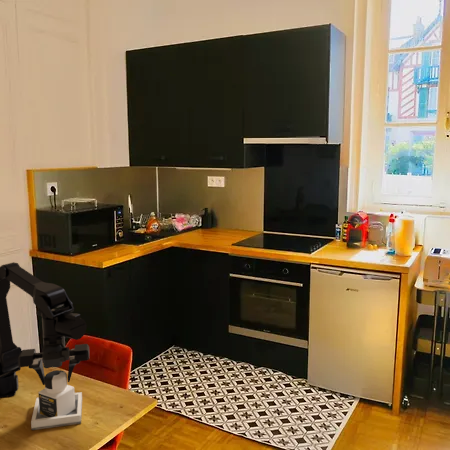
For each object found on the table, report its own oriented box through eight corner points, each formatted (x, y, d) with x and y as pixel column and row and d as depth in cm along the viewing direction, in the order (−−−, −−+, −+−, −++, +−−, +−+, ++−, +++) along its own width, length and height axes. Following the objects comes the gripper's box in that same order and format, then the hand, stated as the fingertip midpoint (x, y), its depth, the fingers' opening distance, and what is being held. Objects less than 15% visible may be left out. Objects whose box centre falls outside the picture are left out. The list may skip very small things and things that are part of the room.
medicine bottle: (39, 414, 138) (36, 375, 136) (58, 403, 145) (56, 365, 143) (57, 421, 135) (54, 381, 133) (76, 409, 141) (73, 371, 139)
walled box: (31, 430, 132) (31, 421, 132) (37, 405, 144) (36, 397, 144) (81, 423, 135) (80, 415, 135) (82, 399, 148) (81, 392, 147)
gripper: (13, 346, 125) (17, 401, 128) (87, 339, 130) (89, 393, 133) (19, 330, 136) (23, 381, 139) (88, 324, 141) (90, 374, 144)
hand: (56, 382), depth 138 cm, fingers open, 6 cm apart
